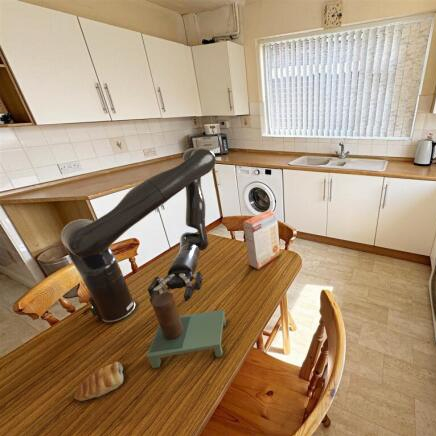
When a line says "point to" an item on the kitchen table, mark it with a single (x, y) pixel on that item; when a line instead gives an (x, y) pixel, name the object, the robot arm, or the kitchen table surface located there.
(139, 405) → the kitchen table surface
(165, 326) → the pepper mill
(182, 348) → the stand
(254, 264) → the cracker box
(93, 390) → the pastry
